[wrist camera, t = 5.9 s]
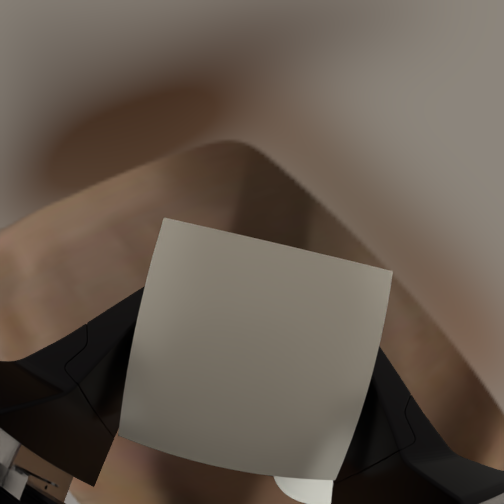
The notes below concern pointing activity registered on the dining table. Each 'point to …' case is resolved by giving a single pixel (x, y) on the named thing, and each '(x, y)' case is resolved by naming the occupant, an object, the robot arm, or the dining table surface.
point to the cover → (252, 353)
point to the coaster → (306, 489)
